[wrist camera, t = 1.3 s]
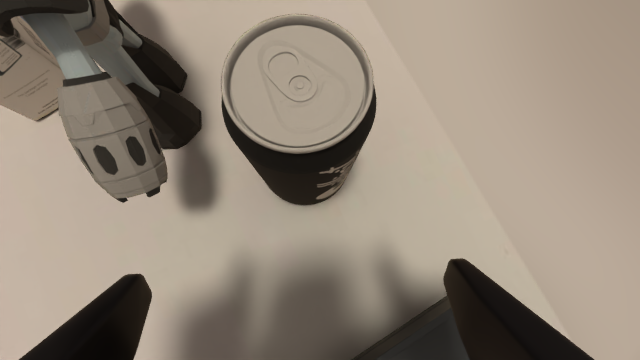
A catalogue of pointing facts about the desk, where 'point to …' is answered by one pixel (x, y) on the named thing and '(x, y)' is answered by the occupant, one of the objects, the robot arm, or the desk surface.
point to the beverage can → (299, 103)
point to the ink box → (28, 73)
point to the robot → (111, 91)
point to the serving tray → (422, 338)
